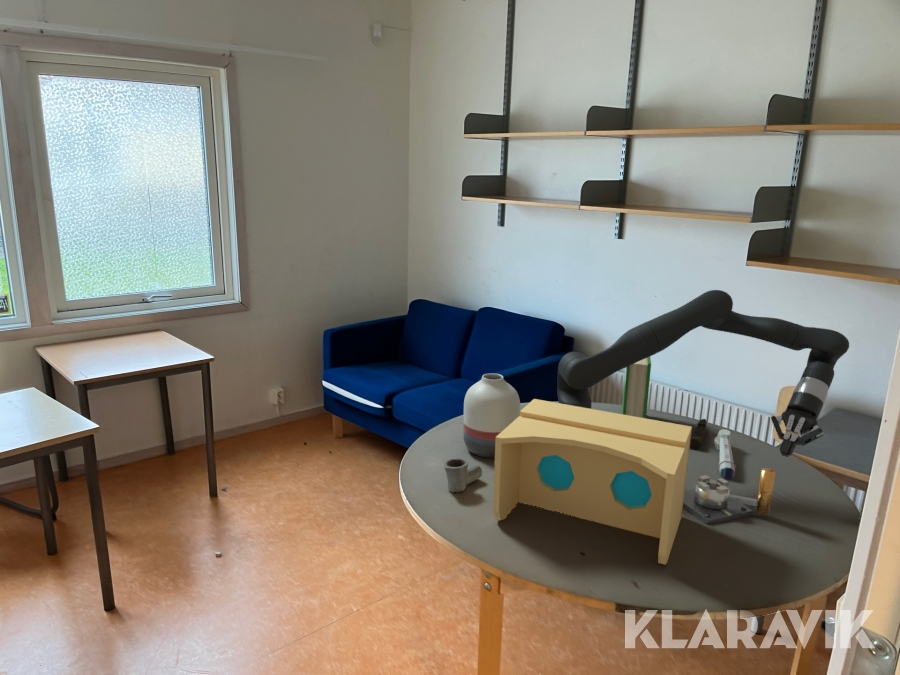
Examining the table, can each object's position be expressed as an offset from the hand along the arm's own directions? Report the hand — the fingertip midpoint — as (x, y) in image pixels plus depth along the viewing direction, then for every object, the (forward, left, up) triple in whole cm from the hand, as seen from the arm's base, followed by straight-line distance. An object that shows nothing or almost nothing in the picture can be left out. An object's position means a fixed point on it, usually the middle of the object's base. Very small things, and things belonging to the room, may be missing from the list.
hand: (784, 454), depth 165 cm
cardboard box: (-51, +7, -14) cm, 54 cm away
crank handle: (-14, +1, -12) cm, 19 cm away
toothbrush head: (+5, +25, -14) cm, 29 cm away
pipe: (-75, +33, -14) cm, 83 cm away
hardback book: (-4, +59, -14) cm, 61 cm away
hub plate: (-18, +4, -14) cm, 23 cm away
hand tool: (+8, +41, -14) cm, 44 cm away
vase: (-59, +53, -14) cm, 80 cm away
